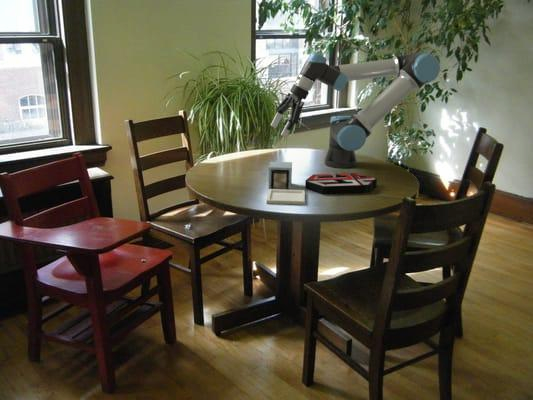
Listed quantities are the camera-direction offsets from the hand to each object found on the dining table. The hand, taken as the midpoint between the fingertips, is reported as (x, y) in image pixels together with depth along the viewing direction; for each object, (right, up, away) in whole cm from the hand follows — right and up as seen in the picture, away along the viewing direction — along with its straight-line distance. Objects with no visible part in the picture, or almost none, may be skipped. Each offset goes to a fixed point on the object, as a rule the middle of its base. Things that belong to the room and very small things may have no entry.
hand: (278, 131), depth 233 cm
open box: (+1, -24, -14) cm, 28 cm away
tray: (+2, -29, -29) cm, 42 cm away
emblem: (+26, -25, -14) cm, 39 cm away
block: (0, -24, -14) cm, 28 cm away
